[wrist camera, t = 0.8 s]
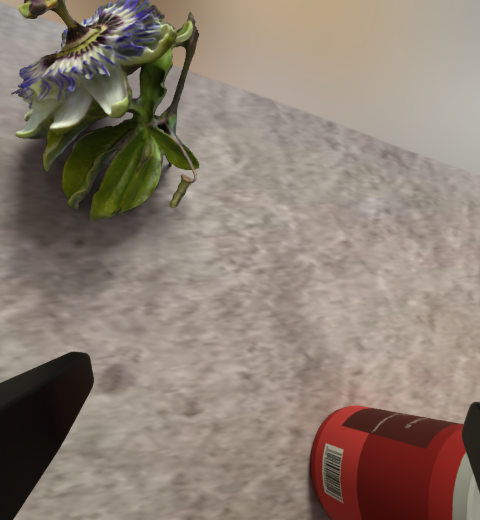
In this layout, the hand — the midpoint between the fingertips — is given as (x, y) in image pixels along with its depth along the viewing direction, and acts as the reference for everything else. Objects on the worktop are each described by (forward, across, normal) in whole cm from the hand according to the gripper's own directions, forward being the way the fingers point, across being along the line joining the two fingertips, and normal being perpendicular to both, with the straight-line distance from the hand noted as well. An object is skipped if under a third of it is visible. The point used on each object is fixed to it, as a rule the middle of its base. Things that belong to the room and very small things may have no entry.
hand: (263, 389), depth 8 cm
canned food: (+12, -6, +16) cm, 21 cm away
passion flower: (+17, +12, -5) cm, 21 cm away
